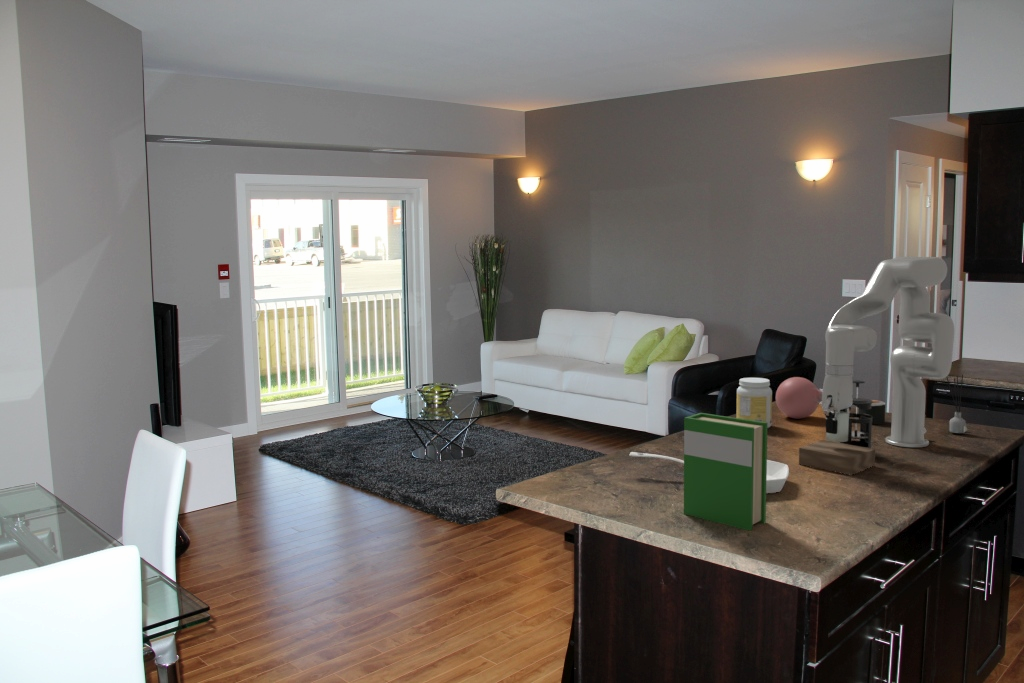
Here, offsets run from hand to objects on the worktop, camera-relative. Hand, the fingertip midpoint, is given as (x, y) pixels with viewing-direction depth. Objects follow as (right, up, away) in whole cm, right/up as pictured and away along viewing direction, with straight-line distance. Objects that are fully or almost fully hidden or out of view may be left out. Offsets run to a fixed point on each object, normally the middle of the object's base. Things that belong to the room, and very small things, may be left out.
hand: (837, 430), depth 235 cm
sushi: (+35, -3, +56) cm, 66 cm away
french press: (+11, -9, +13) cm, 19 cm away
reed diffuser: (+55, -5, +37) cm, 66 cm away
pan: (-41, -13, -11) cm, 44 cm away
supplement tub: (-9, -4, +53) cm, 54 cm away
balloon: (+13, -3, +63) cm, 64 cm away
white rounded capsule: (0, -3, 0) cm, 3 cm away
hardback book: (-44, -17, -42) cm, 63 cm away
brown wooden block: (0, -10, +1) cm, 10 cm away
